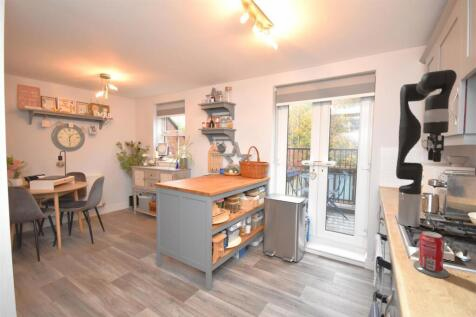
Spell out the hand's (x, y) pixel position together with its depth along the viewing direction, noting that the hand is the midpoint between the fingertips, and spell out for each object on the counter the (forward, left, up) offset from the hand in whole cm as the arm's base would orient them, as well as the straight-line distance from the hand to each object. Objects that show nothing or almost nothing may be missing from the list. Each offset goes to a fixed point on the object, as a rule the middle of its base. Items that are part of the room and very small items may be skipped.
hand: (433, 161), depth 87 cm
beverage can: (+22, -4, -36) cm, 42 cm away
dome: (+8, +1, -36) cm, 37 cm away
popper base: (+8, +1, -36) cm, 37 cm away
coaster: (+22, -4, -36) cm, 42 cm away
